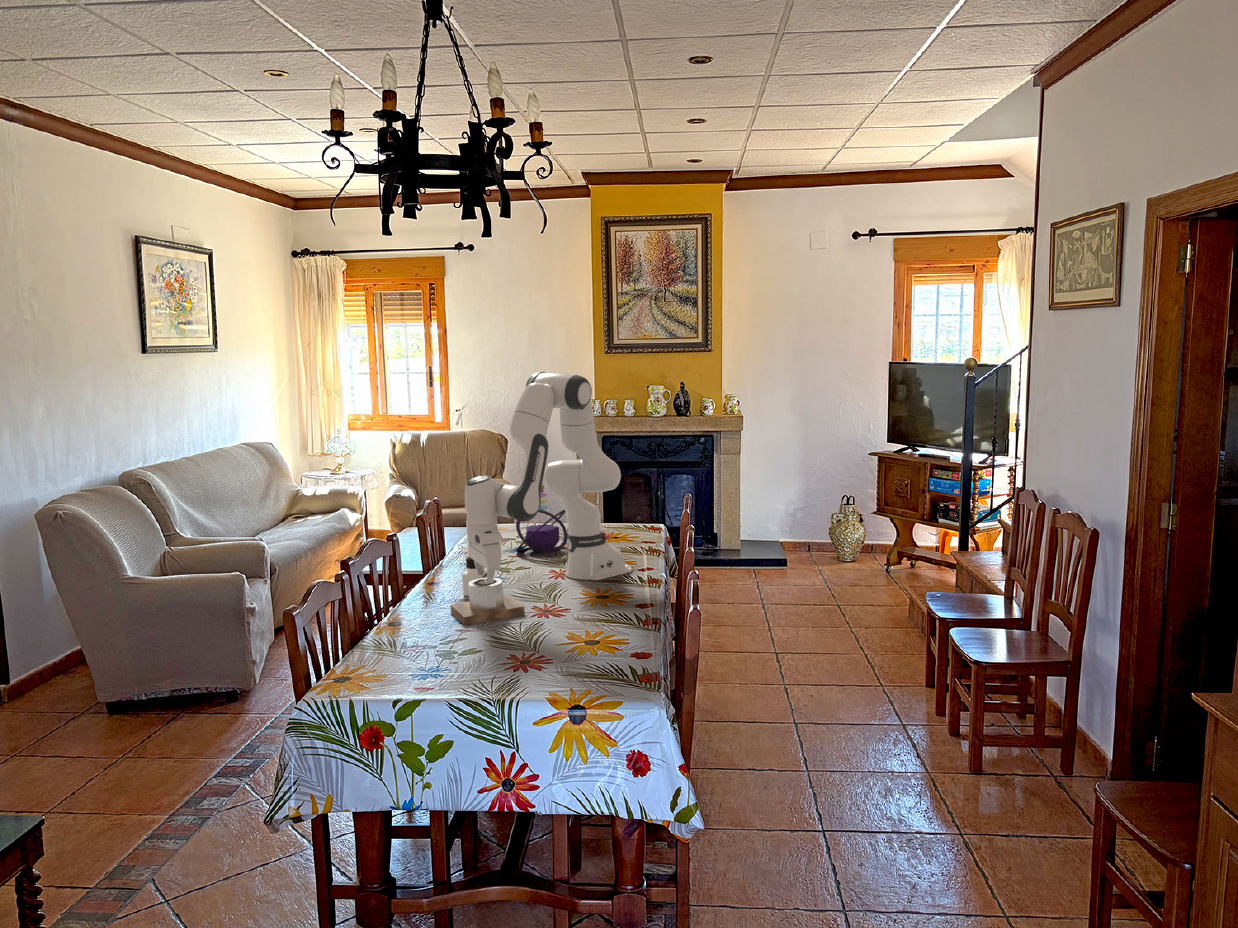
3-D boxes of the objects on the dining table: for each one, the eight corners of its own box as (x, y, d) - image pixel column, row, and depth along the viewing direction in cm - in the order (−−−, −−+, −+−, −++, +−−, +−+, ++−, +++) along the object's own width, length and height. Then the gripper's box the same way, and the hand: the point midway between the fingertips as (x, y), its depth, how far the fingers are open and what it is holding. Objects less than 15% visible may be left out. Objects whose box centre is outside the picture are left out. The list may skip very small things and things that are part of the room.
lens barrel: (497, 598, 266) (495, 575, 264) (507, 606, 257) (506, 583, 256) (466, 603, 261) (464, 581, 260) (476, 612, 253) (474, 588, 252)
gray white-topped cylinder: (492, 598, 262) (491, 578, 261) (497, 602, 258) (496, 582, 257) (476, 601, 260) (474, 581, 259) (481, 605, 256) (480, 585, 255)
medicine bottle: (484, 596, 277) (482, 559, 275) (463, 596, 278) (460, 559, 276) (492, 589, 284) (490, 553, 282) (471, 589, 285) (468, 553, 283)
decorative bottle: (527, 542, 346) (524, 479, 343) (578, 543, 341) (575, 480, 337) (505, 557, 325) (501, 490, 321) (559, 558, 319) (555, 490, 316)
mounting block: (508, 602, 270) (508, 594, 269) (524, 614, 257) (524, 606, 257) (451, 612, 262) (450, 604, 261) (464, 625, 249) (464, 617, 249)
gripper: (461, 527, 264) (464, 572, 266) (482, 540, 246) (485, 588, 248) (481, 524, 267) (484, 568, 269) (503, 537, 248) (506, 584, 250)
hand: (485, 578), depth 258 cm, fingers open, 8 cm apart
